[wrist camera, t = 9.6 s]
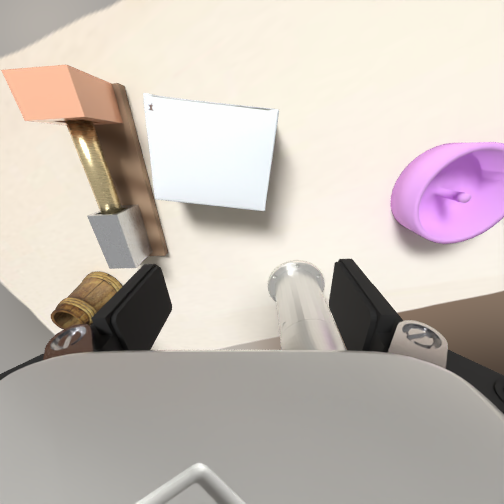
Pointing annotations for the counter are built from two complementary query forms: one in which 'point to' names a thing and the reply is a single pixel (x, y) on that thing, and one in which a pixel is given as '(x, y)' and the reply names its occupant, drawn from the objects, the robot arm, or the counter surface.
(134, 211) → the sleeve
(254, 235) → the counter surface
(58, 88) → the socket block
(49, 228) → the counter surface
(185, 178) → the supplement box
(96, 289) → the wooden mug
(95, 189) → the tube
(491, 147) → the container set
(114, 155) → the base board
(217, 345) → the counter surface
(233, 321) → the counter surface
